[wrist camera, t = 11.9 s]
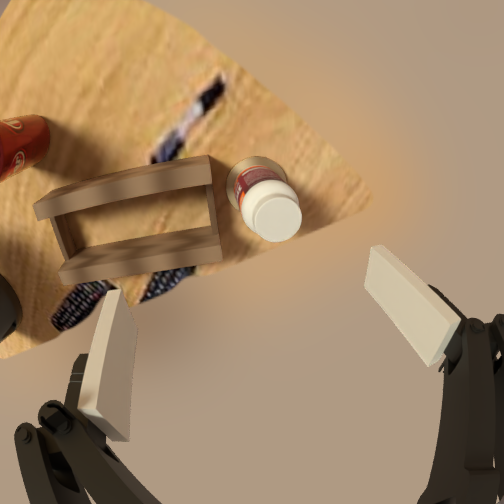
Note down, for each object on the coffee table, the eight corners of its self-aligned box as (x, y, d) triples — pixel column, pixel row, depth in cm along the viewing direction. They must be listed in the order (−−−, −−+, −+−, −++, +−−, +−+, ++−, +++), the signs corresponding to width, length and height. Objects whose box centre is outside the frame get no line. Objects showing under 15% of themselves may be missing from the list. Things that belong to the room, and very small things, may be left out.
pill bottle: (224, 176, 34) (235, 205, 25) (269, 156, 34) (298, 178, 24) (243, 216, 37) (260, 258, 28) (285, 198, 37) (316, 233, 28)
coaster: (229, 217, 37) (229, 219, 37) (222, 160, 33) (223, 161, 33) (286, 209, 38) (287, 211, 38) (284, 153, 34) (285, 154, 34)
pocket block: (77, 263, 36) (63, 285, 31) (52, 190, 30) (32, 204, 25) (219, 239, 39) (223, 261, 34) (207, 154, 33) (209, 163, 28)
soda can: (56, 156, 28) (7, 180, 18) (19, 171, 27) (-30, 199, 17) (48, 106, 24) (-6, 113, 14) (11, 125, 24) (-43, 140, 13)
